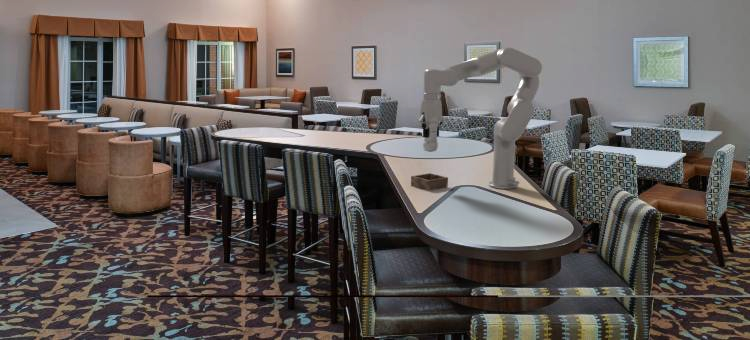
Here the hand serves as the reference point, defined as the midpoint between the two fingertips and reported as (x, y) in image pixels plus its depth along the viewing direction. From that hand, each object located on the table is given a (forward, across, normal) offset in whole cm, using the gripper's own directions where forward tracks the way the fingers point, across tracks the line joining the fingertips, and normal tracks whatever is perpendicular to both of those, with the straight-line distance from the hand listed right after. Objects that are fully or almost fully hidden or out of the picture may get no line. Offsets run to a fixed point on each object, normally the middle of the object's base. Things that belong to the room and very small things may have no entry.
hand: (430, 136), depth 262 cm
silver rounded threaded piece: (+7, 0, 0) cm, 7 cm away
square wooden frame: (+23, 0, 0) cm, 23 cm away
